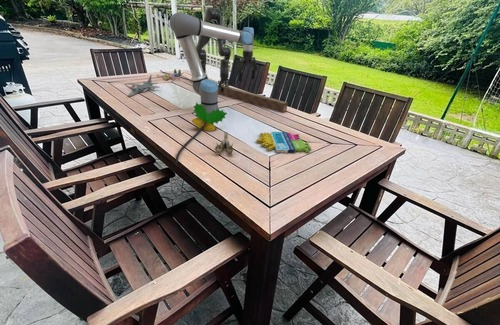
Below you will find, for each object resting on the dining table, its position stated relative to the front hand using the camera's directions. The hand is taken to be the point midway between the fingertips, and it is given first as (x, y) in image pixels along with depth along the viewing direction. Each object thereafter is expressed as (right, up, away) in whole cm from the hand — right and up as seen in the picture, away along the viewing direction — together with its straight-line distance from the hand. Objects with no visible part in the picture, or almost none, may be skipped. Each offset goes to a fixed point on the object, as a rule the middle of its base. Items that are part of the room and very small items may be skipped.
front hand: (246, 80), depth 204 cm
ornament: (-23, -43, -39) cm, 62 cm away
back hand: (-21, 0, +32) cm, 38 cm away
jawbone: (-11, -58, -65) cm, 88 cm away
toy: (-82, +27, +79) cm, 117 cm away
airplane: (-92, -1, +27) cm, 95 cm away
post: (+2, -13, +18) cm, 22 cm away
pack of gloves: (+21, -53, -51) cm, 77 cm away
